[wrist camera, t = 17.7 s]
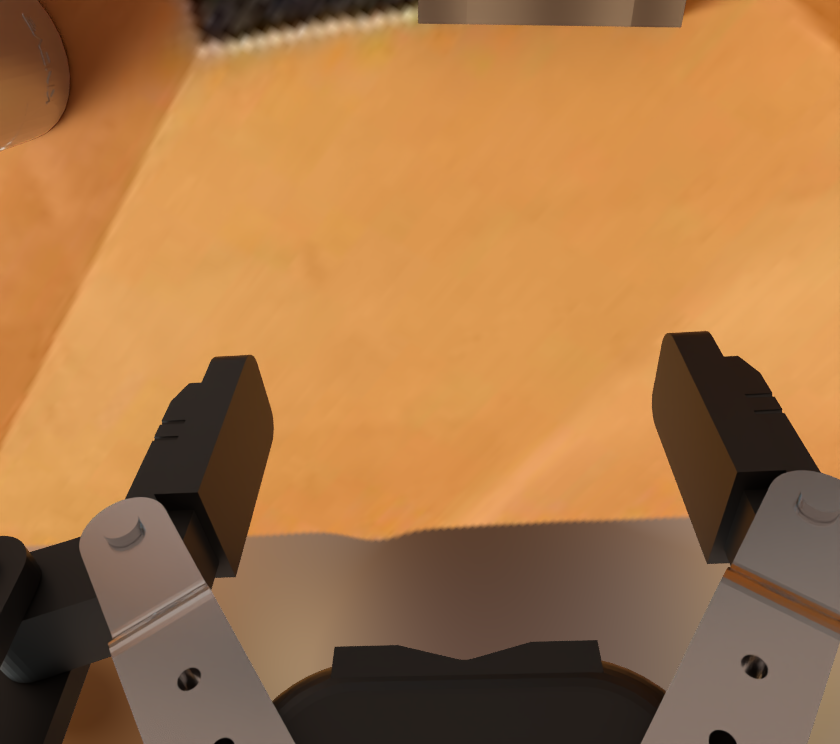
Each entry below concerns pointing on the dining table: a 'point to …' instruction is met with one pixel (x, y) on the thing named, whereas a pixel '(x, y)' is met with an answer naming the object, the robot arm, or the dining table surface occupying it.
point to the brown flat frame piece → (554, 12)
